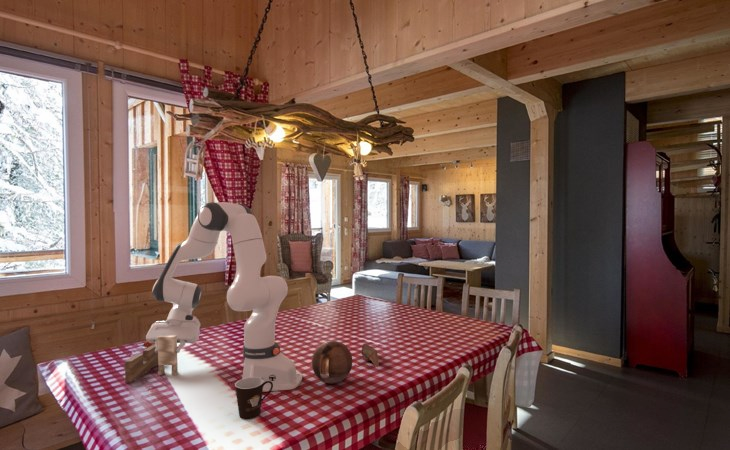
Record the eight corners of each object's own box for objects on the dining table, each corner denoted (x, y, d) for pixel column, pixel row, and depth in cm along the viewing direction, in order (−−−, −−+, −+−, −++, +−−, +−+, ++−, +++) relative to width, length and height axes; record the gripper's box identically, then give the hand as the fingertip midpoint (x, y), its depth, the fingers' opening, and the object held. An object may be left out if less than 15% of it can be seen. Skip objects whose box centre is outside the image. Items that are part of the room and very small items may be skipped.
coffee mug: (234, 423, 122) (234, 390, 121) (236, 409, 130) (235, 379, 130) (274, 417, 125) (273, 385, 124) (273, 404, 133) (272, 374, 133)
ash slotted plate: (177, 372, 161) (176, 335, 161) (174, 375, 159) (173, 337, 159) (161, 372, 161) (160, 335, 161) (158, 375, 159) (157, 337, 159)
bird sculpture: (371, 374, 158) (371, 361, 157) (355, 353, 182) (355, 342, 181) (387, 372, 159) (387, 359, 159) (369, 351, 183) (369, 340, 183)
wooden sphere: (332, 370, 161) (331, 333, 161) (360, 380, 152) (360, 340, 151) (303, 383, 150) (303, 343, 149) (333, 394, 140) (332, 351, 140)
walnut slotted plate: (159, 362, 172) (159, 344, 172) (131, 382, 152) (131, 361, 152) (154, 362, 172) (153, 344, 172) (125, 382, 152) (124, 361, 152)
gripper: (150, 317, 167) (137, 348, 157) (199, 316, 166) (189, 348, 157) (156, 324, 171) (144, 355, 162) (204, 324, 171) (194, 355, 161)
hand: (166, 352), depth 159 cm, fingers closed on ash slotted plate, 6 cm apart
